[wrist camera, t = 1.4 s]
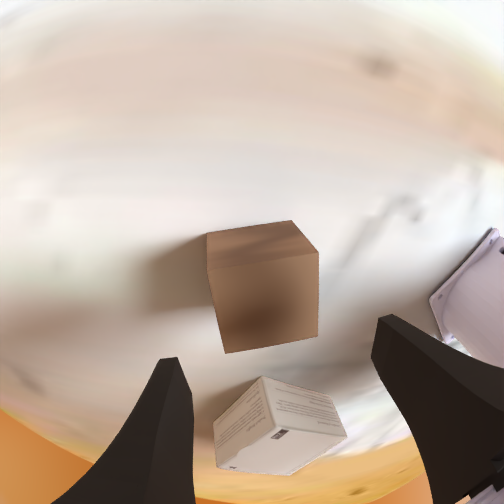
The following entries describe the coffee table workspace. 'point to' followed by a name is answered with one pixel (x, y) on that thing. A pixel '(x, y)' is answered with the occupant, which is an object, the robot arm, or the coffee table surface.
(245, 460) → the small box
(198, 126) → the coffee table surface
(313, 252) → the walnut block
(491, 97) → the coffee table surface
